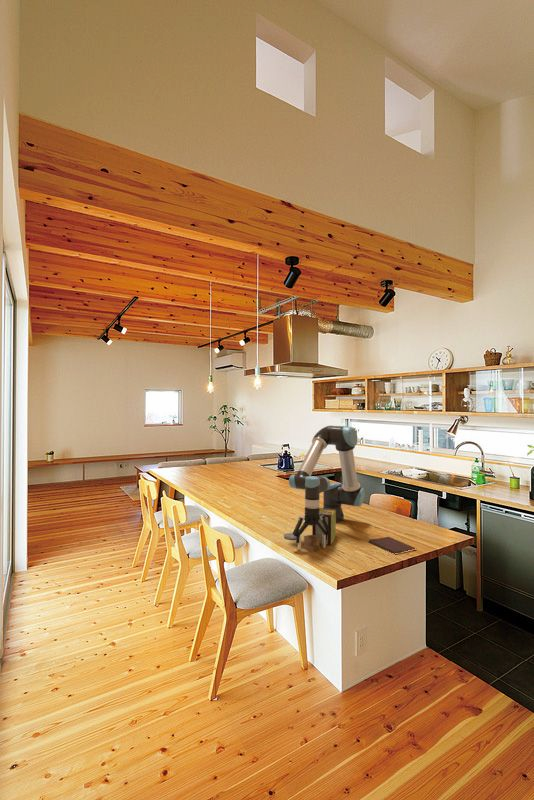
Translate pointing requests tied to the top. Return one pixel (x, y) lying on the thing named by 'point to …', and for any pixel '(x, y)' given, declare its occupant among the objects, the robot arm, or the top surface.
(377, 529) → the top surface
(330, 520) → the protein box
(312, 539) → the walnut block
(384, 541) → the notebook
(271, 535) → the top surface
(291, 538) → the slate coaster
